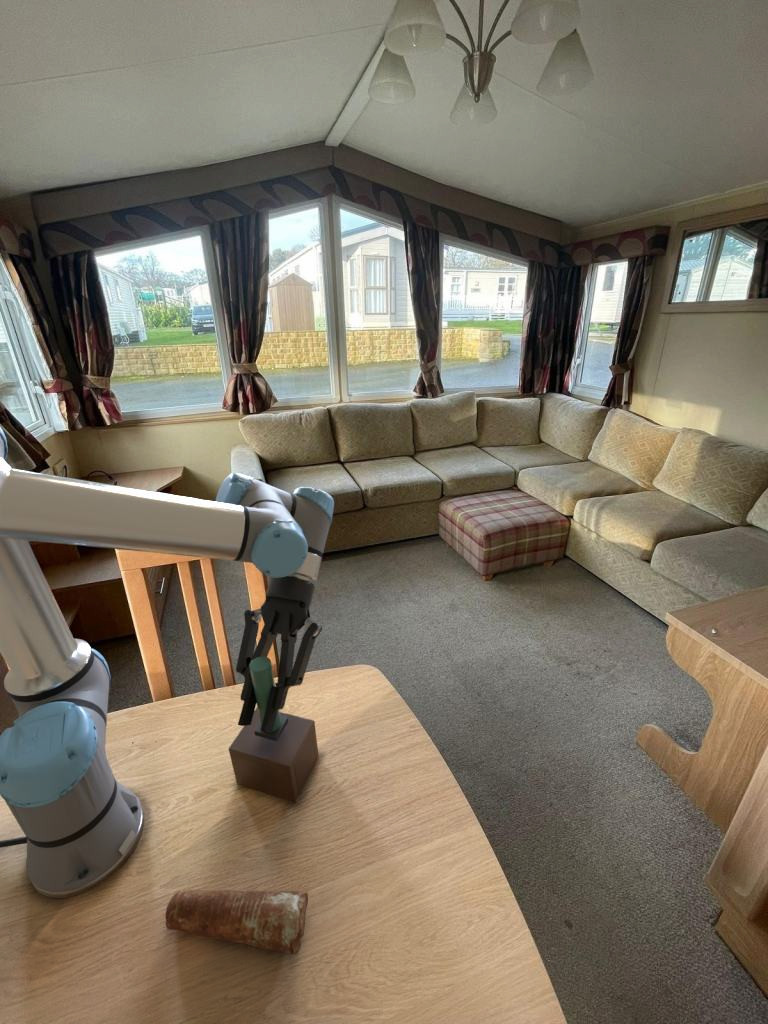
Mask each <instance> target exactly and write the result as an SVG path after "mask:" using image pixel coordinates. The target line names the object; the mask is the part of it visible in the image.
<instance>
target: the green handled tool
mask: <svg viewBox="0 0 768 1024" xmlns="http://www.w3.org/2000/svg"><path fill="white" fill-rule="evenodd" d="M250 672H251V677H252V682H253V687H254V692H255V697H256V702H257V703H256V708H257V707H258V712H259V718H260V723H259V725H258V726H257V728H256V729H255V731H254V732H255V735H256V736H259V737H263V738H267V739H270V740H274V741H277V740H278V739H279V737H280V735H281V733H282V732H283V730H284V728H285V727H286V725H287V723H288V722H289V721H288V717H284V716H280V712H281V711H280V710H278V712H277V716H276V720H275V724H274V728H273V731H269V732H262V731H261V727H262V723H263V719H264V715H265V711H266V707H267V703H268V699H269V695H270V691H271V687H272V686H276V685H275V683H276V682H275V678H274V671H273V665H272V661H271V658H269V657H268V656H267V657H264V656H262V657H257V658H255V659H254V660H252V661H251V663H250Z"/></svg>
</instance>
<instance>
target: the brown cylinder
mask: <svg viewBox="0 0 768 1024" xmlns="http://www.w3.org/2000/svg"><path fill="white" fill-rule="evenodd" d="M308 903H309V893H308V892H307V891H297V890H251V889H247V890H246V889H245V890H244V889H189V890H178V891H177V892H176V893H174V894H173V896H172V897H171V898H170V900H169V901H168V904H167V906H166V909H165V926H166V929H167V930H171V931H177V932H185V933H190V934H194V935H197V936H201V937H206V938H211V939H217V940H223V941H227V942H232V943H238V944H239V943H240V944H245V945H248V946H252V947H256V948H260V949H266V950H269V951H275V952H279V953H284V954H289V955H297V954H298V953H299V952H300V950H301V946H302V945H301V944H302V943H301V939H302V938H303V937H304V935H305V926H306V913H307V907H308Z"/></svg>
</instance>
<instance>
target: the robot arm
mask: <svg viewBox="0 0 768 1024" xmlns="http://www.w3.org/2000/svg"><path fill="white" fill-rule="evenodd" d="M8 452H9V447H8V440H7V437H6V434H5V432H4V430H3V429H2V426H0V655H1V656H2V658H3V660H4V661H5V663H6V665H7V667H8V668H9V670H8V672H7V673H6V675H5V677H4V680H3V686H4V690H5V691H6V693H7V694H8V696H9V697H10V699H11V700H12V702H13V704H14V705H15V707H16V709H17V713H18V717H17V718H16V719H14V721H13V726H11V727H8V728H7V727H6V728H5V729H4V731H2V733H1V734H0V797H1V798H2V799H3V800H4V802H5V804H6V805H7V807H8V808H9V810H10V812H11V814H12V816H13V818H14V819H15V820H16V822H17V824H18V826H19V827H20V829H21V830H22V832H23V834H24V835H25V836H22V837H15V838H11V839H4V840H0V849H1V848H8V847H13V846H18V845H24V844H25V845H26V859H25V865H26V871H27V875H28V879H29V880H30V882H31V884H32V885H33V887H34V888H35V890H36V892H38V893H40V894H41V895H42V896H44V897H48V898H52V899H65V898H66V899H67V898H72V897H76V896H79V895H82V894H84V893H86V892H88V891H90V890H92V889H94V888H96V887H98V886H99V885H101V884H102V883H104V882H105V881H107V880H108V879H109V878H110V877H112V876H113V875H114V874H115V873H116V872H117V871H118V870H120V868H121V867H122V866H123V865H124V864H125V863H126V862H127V860H128V859H129V858H130V857H131V856H132V853H133V852H134V850H135V849H136V847H137V845H138V844H139V841H140V839H141V836H142V834H143V830H144V825H145V813H144V810H143V807H142V804H141V802H140V799H139V798H138V796H137V795H136V794H135V793H134V792H133V791H132V790H130V789H129V788H128V787H126V786H125V785H123V784H122V783H121V782H119V781H118V780H116V778H115V775H114V773H113V770H112V768H111V765H110V762H109V760H108V757H107V753H106V752H107V751H106V741H107V740H106V739H107V738H106V737H107V725H108V707H109V693H110V689H111V680H112V679H111V672H110V669H109V665H108V662H107V660H106V659H105V657H104V656H103V655H102V654H101V652H99V651H97V650H96V649H94V648H92V647H91V645H90V644H89V643H88V642H87V641H86V640H84V639H80V638H74V637H73V633H72V632H71V630H70V628H69V626H68V625H69V624H68V623H67V621H66V619H65V617H64V614H63V613H62V611H61V609H60V607H59V604H58V601H57V600H56V599H55V595H54V594H53V592H52V589H51V587H50V585H49V583H48V581H47V579H46V577H45V575H44V573H43V571H42V569H41V567H40V564H39V562H38V559H37V558H36V556H35V554H34V552H33V549H32V547H31V545H30V543H29V541H31V542H40V543H51V544H61V545H62V544H63V545H71V546H72V545H73V546H83V547H90V548H91V547H92V548H102V549H103V548H104V549H112V550H113V549H114V550H122V551H133V552H141V553H154V554H164V555H174V556H184V557H193V558H206V559H215V560H225V561H234V562H240V563H249V564H253V565H254V566H255V568H256V569H257V570H258V571H259V572H260V573H262V574H263V575H264V576H267V577H269V582H268V586H267V588H266V589H267V590H266V592H265V600H264V602H263V603H262V605H261V606H260V608H257V609H254V610H251V609H246V610H245V611H244V614H243V616H244V624H245V625H244V628H243V634H242V638H241V643H240V648H239V653H238V658H237V662H236V668H235V672H237V673H238V674H241V676H243V677H244V682H243V686H242V690H241V693H240V701H242V702H243V705H242V707H241V711H240V716H239V718H238V722H237V725H238V726H240V727H244V726H246V725H251V722H252V718H253V714H254V711H255V709H256V707H257V702H256V697H255V692H254V687H253V682H252V677H251V672H250V663H251V661H252V660H254V659H255V658H257V657H262V656H264V657H268V655H269V653H270V650H271V648H272V646H273V643H274V642H275V640H276V639H277V637H278V635H280V641H281V645H280V654H279V655H280V656H279V665H278V666H279V667H278V671H277V672H278V674H277V682H275V686H272V687H271V691H270V695H269V699H268V703H267V707H266V711H265V715H264V719H263V723H262V727H261V731H262V732H269V731H273V728H274V724H275V720H276V716H277V712H278V710H279V711H280V710H284V708H285V705H286V701H287V697H288V693H289V690H290V688H292V687H296V686H302V684H303V681H304V678H305V674H306V671H307V668H308V665H309V662H310V658H311V654H312V653H313V649H314V646H315V643H316V640H317V638H318V637H319V635H320V633H321V632H322V631H323V626H322V624H319V623H317V622H316V621H314V620H313V619H312V618H311V613H310V607H311V604H312V601H313V598H314V593H315V588H316V585H315V583H314V582H316V581H317V580H318V576H319V572H320V567H321V563H322V560H323V554H324V551H325V547H326V543H327V539H328V536H329V535H328V534H329V531H330V527H331V525H332V523H333V514H334V509H335V508H334V507H335V500H334V498H333V496H331V494H329V493H327V492H326V491H324V490H321V489H317V488H314V487H310V486H300V487H297V488H296V489H294V491H293V493H290V492H287V491H285V490H282V489H279V488H278V487H275V486H272V485H270V484H268V483H266V482H264V481H261V480H258V479H256V478H255V477H253V476H248V475H246V474H242V473H238V472H231V473H230V474H228V476H226V477H225V479H224V480H223V481H222V483H221V485H220V486H219V489H218V492H217V493H216V497H215V501H214V500H208V499H202V498H197V497H196V498H195V497H189V496H183V495H176V494H171V493H165V492H158V491H151V490H145V489H140V488H132V487H127V486H122V485H114V484H108V483H102V482H95V481H90V480H85V479H77V478H71V477H64V476H58V475H52V474H46V473H40V472H34V471H27V470H21V469H16V468H13V467H12V466H10V464H9V463H8V462H7V461H6V460H7V457H8ZM262 620H263V624H264V625H263V627H262V629H261V631H260V638H259V640H258V642H257V638H258V632H259V629H260V628H259V627H260V623H261V622H262ZM303 627H304V628H303ZM302 628H303V630H304V633H303V635H302V637H301V641H300V645H299V647H298V651H297V655H296V656H295V647H296V643H297V640H298V632H299V631H300V630H301V629H302ZM256 643H257V644H256ZM294 657H295V660H294Z"/></svg>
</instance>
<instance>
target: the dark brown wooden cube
mask: <svg viewBox="0 0 768 1024" xmlns="http://www.w3.org/2000/svg"><path fill="white" fill-rule="evenodd" d="M279 712H280V716H284V717H288V721H289V722H288V723H287V725H286V727H285V728H284V730H283V732H282V733H281V735H280V737H279V739H278V740H277V741H274V740H270V739H267V738H263V737H259V736H256V735H255V732H254V731H255V729H256V728H257V726H258V725H259V723H260V718H259V712H258V707H257V706H256V707H255V710H254V714H253V718H252V722H251V725H246V726H242V728H241V730H240V731H239V733H238V734H237V735H236V736H235V739H234V740H233V742H232V743H231V744H230V746H229V747H228V753H229V757H230V760H231V766H232V769H233V774H234V779H235V781H236V785H237V786H239V787H243V788H245V789H249V790H252V791H256V792H258V793H261V794H264V795H267V796H271V797H275V798H276V799H280V800H284V801H287V802H290V803H292V804H296V803H297V801H298V799H299V798H300V796H301V793H302V791H303V790H304V788H305V785H306V783H307V781H308V779H309V777H310V775H311V773H312V772H313V768H314V766H316V762H317V761H318V759H319V757H320V756H319V747H318V740H317V731H316V723H315V720H314V719H309V718H305V717H302V716H298V715H294V714H290V713H287V712H283V711H279Z"/></svg>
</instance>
